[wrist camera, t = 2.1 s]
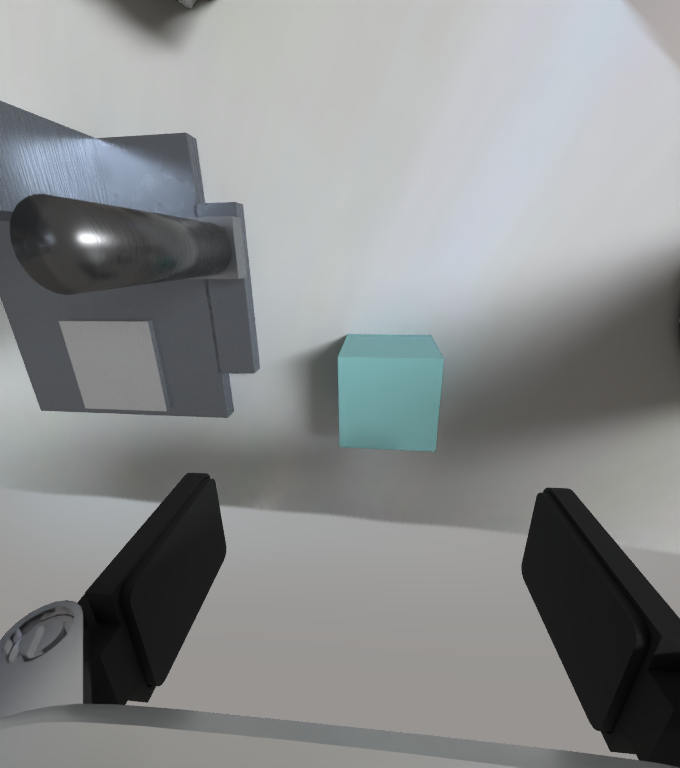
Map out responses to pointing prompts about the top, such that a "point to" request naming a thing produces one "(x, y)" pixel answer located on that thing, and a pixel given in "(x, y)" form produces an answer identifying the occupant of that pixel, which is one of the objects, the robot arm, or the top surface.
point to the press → (128, 304)
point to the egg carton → (187, 3)
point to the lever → (120, 245)
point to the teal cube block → (389, 392)
